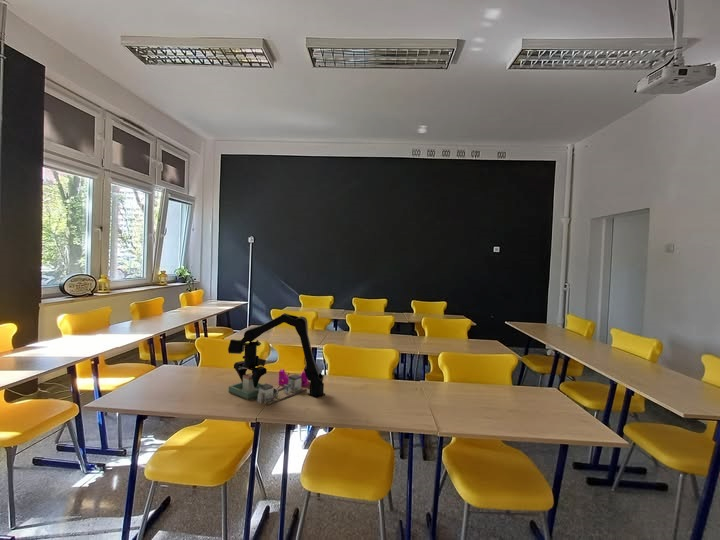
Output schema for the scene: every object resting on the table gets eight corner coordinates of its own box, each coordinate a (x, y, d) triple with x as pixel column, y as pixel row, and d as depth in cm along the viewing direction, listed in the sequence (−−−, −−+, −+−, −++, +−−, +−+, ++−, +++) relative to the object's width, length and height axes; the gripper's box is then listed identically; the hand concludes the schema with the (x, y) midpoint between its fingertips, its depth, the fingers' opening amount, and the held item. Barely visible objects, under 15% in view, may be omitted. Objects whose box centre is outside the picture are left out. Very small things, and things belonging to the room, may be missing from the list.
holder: (306, 390, 186) (307, 376, 185) (266, 405, 164) (267, 390, 164) (292, 385, 192) (292, 372, 192) (251, 399, 170) (252, 385, 170)
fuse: (255, 391, 180) (256, 375, 180) (248, 393, 176) (248, 377, 176) (250, 388, 182) (250, 373, 182) (242, 391, 179) (242, 375, 179)
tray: (269, 392, 180) (269, 386, 180) (247, 400, 170) (248, 393, 170) (250, 385, 189) (250, 379, 189) (228, 392, 178) (228, 386, 178)
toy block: (308, 382, 198) (308, 369, 198) (306, 386, 192) (307, 372, 191) (281, 381, 198) (281, 367, 198) (278, 385, 192) (279, 371, 191)
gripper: (275, 354, 180) (274, 385, 180) (251, 348, 191) (250, 377, 191) (257, 358, 171) (256, 391, 171) (233, 351, 182) (232, 382, 182)
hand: (249, 385), depth 179 cm, fingers open, 9 cm apart
